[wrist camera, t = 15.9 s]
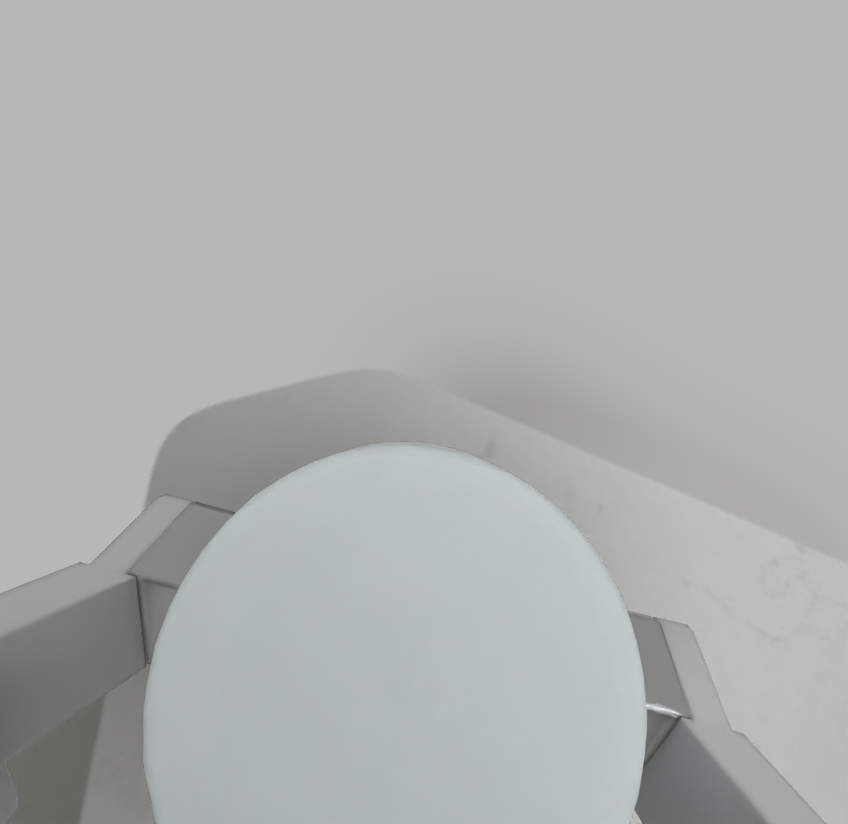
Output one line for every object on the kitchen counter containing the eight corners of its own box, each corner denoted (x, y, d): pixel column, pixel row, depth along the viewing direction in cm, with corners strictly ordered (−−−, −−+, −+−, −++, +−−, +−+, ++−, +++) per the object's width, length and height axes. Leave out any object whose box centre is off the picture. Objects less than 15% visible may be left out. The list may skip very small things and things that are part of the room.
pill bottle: (264, 667, 13) (-129, 948, 3) (351, 469, 14) (245, 289, 5) (467, 756, 12) (647, 1357, 3) (535, 543, 14) (799, 499, 4)
